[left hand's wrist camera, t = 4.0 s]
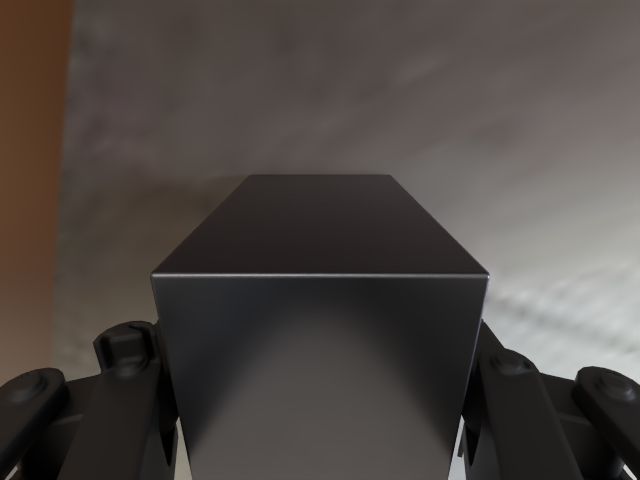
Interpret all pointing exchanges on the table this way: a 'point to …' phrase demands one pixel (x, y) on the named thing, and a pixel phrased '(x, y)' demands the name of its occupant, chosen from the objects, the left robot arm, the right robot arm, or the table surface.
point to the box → (320, 332)
